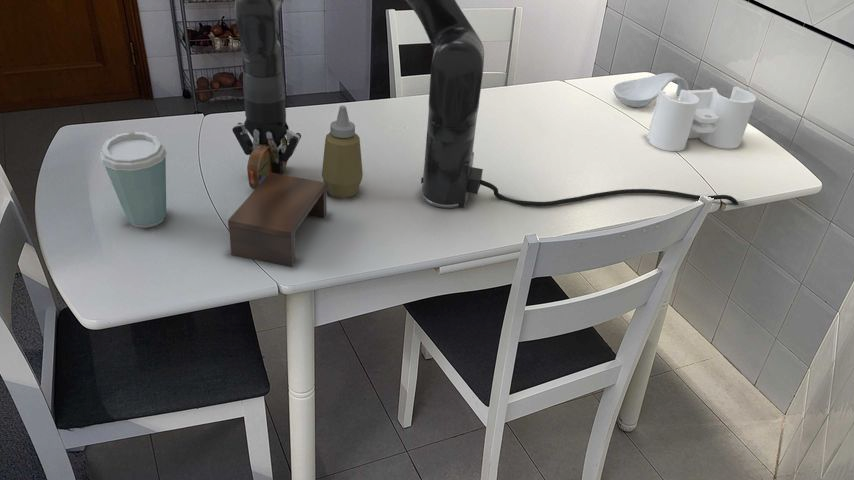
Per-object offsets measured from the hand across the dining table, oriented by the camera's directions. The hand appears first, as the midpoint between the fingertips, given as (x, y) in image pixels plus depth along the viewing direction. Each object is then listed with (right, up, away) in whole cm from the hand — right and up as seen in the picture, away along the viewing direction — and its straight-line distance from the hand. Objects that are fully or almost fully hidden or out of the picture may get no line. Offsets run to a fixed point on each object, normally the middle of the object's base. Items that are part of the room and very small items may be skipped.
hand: (269, 175), depth 148 cm
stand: (+6, -13, -14) cm, 20 cm away
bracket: (+97, +13, +36) cm, 105 cm away
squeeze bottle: (+15, -3, 0) cm, 15 cm away
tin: (0, -1, +1) cm, 1 cm away
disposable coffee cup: (-19, -10, -15) cm, 26 cm away
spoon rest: (+91, +28, +55) cm, 110 cm away
